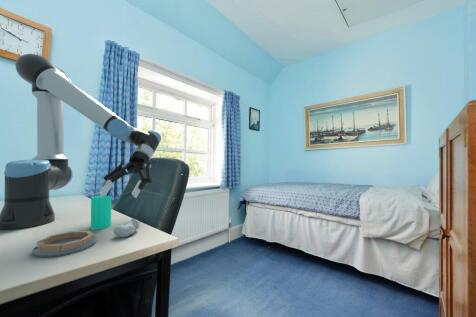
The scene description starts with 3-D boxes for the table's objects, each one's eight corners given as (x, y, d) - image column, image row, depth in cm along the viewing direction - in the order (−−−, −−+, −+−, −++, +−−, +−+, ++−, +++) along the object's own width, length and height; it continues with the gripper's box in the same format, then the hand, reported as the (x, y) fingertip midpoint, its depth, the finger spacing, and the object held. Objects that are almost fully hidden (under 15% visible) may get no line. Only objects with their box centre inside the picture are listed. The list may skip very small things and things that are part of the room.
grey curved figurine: (122, 243, 61) (109, 236, 62) (142, 234, 68) (130, 228, 70) (125, 230, 60) (112, 223, 62) (145, 222, 68) (133, 216, 69)
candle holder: (29, 247, 55) (29, 238, 55) (88, 234, 65) (88, 227, 65) (37, 262, 46) (37, 252, 46) (103, 245, 56) (103, 236, 56)
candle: (103, 229, 70) (104, 193, 70) (86, 229, 70) (86, 193, 70) (114, 223, 76) (115, 190, 76) (98, 223, 76) (99, 190, 76)
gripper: (170, 162, 94) (151, 202, 80) (120, 162, 98) (94, 200, 83) (164, 149, 89) (143, 190, 74) (112, 150, 93) (82, 188, 78)
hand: (117, 195), depth 79 cm, fingers open, 13 cm apart
